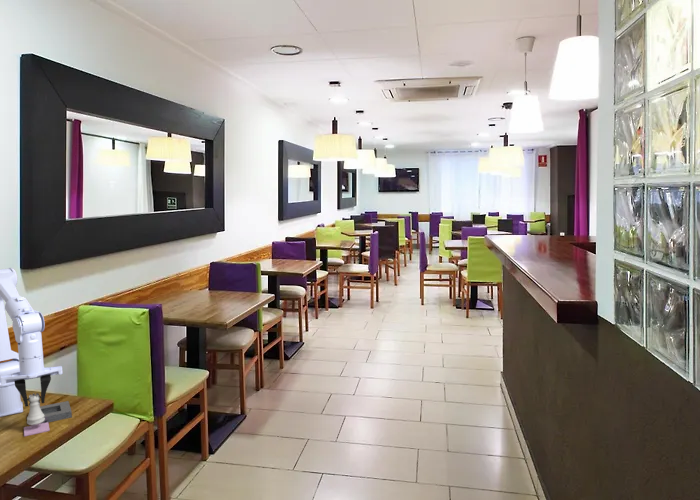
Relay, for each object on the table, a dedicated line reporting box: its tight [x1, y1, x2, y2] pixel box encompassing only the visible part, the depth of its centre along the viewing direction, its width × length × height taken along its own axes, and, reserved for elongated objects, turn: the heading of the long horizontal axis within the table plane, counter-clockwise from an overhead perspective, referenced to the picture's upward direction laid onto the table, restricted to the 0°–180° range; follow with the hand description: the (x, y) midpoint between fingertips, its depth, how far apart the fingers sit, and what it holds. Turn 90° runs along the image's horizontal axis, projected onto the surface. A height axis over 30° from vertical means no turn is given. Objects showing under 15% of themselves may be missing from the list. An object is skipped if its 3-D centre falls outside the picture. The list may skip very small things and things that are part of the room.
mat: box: [23, 422, 50, 437], centre depth 144 cm, size 6×6×1 cm
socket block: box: [40, 400, 73, 424], centre depth 153 cm, size 10×10×2 cm
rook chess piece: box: [26, 392, 45, 426], centre depth 143 cm, size 4×4×8 cm
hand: (34, 403), depth 143 cm, fingers closed on rook chess piece, 3 cm apart
